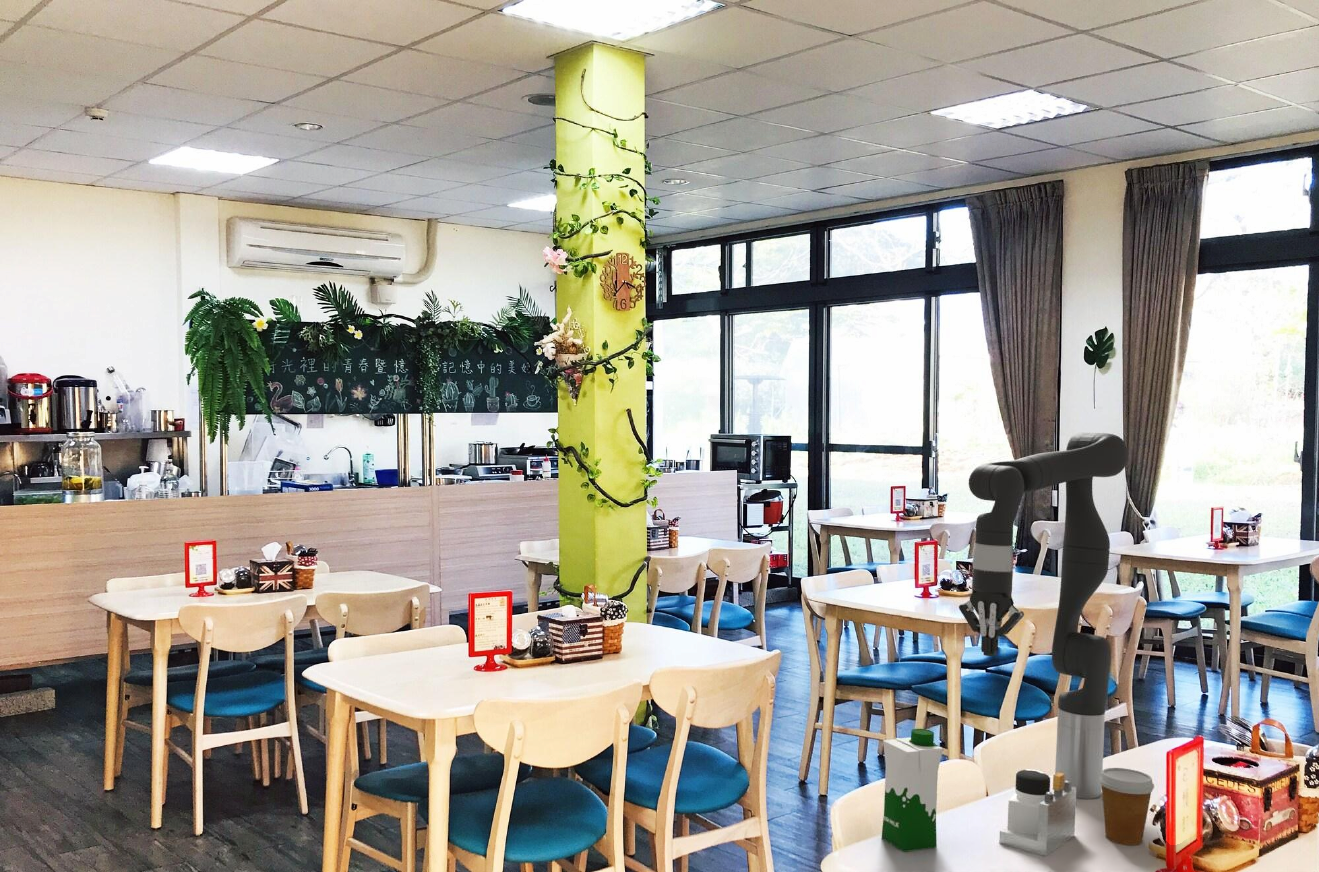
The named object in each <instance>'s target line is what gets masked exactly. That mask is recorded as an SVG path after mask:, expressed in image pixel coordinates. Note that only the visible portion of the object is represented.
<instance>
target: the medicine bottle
mask: <svg viewBox="0 0 1319 872" xmlns="http://www.w3.org/2000/svg"><path fill="white" fill-rule="evenodd" d="M1014 790H1015V792H1014V793H1013V795H1012V796H1011V797H1010V798H1009V800H1008V807H1007V809H1008V810H1007V811H1008V812H1007V827H1006V830H1009V831H1013V832H1017V833H1020V834H1024V835H1028V836H1031V837H1035V838H1038V820H1039V803H1041V802H1042V801H1044V800H1045V794H1046V792H1051V777H1050V776H1049V775H1048V774H1047V773H1045V772H1044V771H1043V772H1042V771H1041V770H1037V769H1022V770H1019V771H1017V772H1016V774H1015V789H1014Z"/></svg>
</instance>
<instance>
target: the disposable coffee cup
mask: <svg viewBox="0 0 1319 872" xmlns="http://www.w3.org/2000/svg"><path fill="white" fill-rule="evenodd" d="M1099 780H1100V783H1101V785H1102V792H1101V797H1102V805H1103V806H1102V808H1103V818H1104V819H1103V821H1104V831H1105V837H1106V839H1107V840H1109V841H1111V842H1113V843H1116V844H1120V845H1125V846H1139V845H1141V844H1142V843H1143V837H1144V834H1145V828H1146V823H1147V818H1148V812H1149V806H1150V802H1151V801H1150V800H1151V794H1152V792H1153V790H1154V788H1155V784H1154V783H1153V778H1152V777H1151V776H1150V775H1149V774H1148V773H1145V772H1143V771H1139V770H1134V769H1130V768H1123V767H1108V768H1107V767H1106V768H1105V769H1103V770H1102V773H1101V776H1100V777H1099Z"/></svg>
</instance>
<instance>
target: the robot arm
mask: <svg viewBox="0 0 1319 872" xmlns="http://www.w3.org/2000/svg"><path fill="white" fill-rule="evenodd" d="M1128 453H1129V451H1128V447H1127V444H1126V442H1125V440H1123V438H1121V437H1120V436H1118V435H1116V434H1114V433H1107V432H1106V433H1105V432H1101V433H1100V432H1078V433H1075V434H1073V435H1072V436H1071V437H1070V438H1069V440H1068V443H1067V446H1066V450H1057V451H1048V452H1040V453H1034V454H1031V455H1028V456H1025V457H1024V456H1023V457H1021V458H1016V459H1013V460H1005V461H997V462H989V463H983V464H980V465H979V466H977V467H976V468H974V470H973V471H972V472H971V473H970V476H969V477H968V487H969V491H970V492H971V494H972V495H973V496H974V497H976V498H977V499H980V500H982V501H990V502H994V503H993V506H992V509H991V511H990V512H984V513H981V514H979V515H978V516H977V518H976V522H975V538H974V539H975V541H974V542H975V543H974V550H973V555H972V556H973V558H972V581H971V582H972V583H971V589H972V591H971V594H970V596H969V600H967V601H966V602H964V603H962V604H959V606H958V609H959V611H960V613H961V614H962V616H963V617H964V619H965V621H966V622H967V624H968V626H969V627H970V629H971V630H972V631H973V632H976V633H978V634H980V637H981V643H980V644H981V645H980V650H981V652H982V653H983V656H986V657H995V655H996V654H997V653H998V652H999V638H1000V637H1002V636H1005V635H1007V634H1009V633H1010V632H1011V630H1012V629H1014V627H1016V625H1017V624H1018V623H1019V622H1020V620H1022V619H1023V617H1024V616H1025V613H1024V611H1022V610H1019V609H1017V607H1016V606H1014V603H1015V602H1014V599H1013V597H1012V593H1013V574H1014V551H1013V550H1014V549H1013V543H1014V542H1013V541H1014V524H1015V521H1016V517H1017V515H1018V511H1019V508H1020V505H1021V502H1022V500H1023V496H1024V494H1025V493H1026V494H1028V493H1033V492H1036V491H1039V490H1042V489H1043V490H1044V489H1046V488H1049V487H1051V486H1052V487H1053V486H1057V485H1060V484H1063V483H1065V517H1064V518H1065V519H1064V521H1065V522H1064V534H1063V542H1062V554H1061V575H1060V586H1059V587H1060V588H1059V600H1058V606H1057V607H1058V609H1057V614H1056V619H1055V624H1054V625H1055V626H1054V631H1053V636H1052V637H1053V639H1052V645H1051V661H1052V666H1053V669H1054V670H1055V671H1056V672H1057V673H1058V674H1062V675H1066V676H1071V677H1076V678H1079V679H1083V684H1082V685H1083V686H1082V687H1081V688H1080V689H1076V690H1068V691H1064V692H1062V693H1060V694H1059V695H1058V700H1057V724H1056V743H1055V744H1056V746H1055V747H1056V748H1055V749H1056V750H1055V752H1056V754H1055V769H1054V770H1055V771H1054V775H1055V774H1056V773H1058V772H1059V773H1063V774H1065V781H1070V783H1072V787H1076V799H1089V800H1090V799H1091V800H1092V799H1098V798H1100V797H1102V785H1101V783H1100V780H1099V777H1100V776H1101V773H1102V770H1104V769H1103V768H1104V767H1103V766H1104V765H1103V763H1104V745H1105V743H1104V742H1105V741H1104V740H1105V739H1104V738H1105V716H1106V715H1105V714H1106V704H1107V700H1108V696H1109V695H1108V694H1109V682H1110V670H1111V662H1112V651H1111V650H1112V649H1111V646H1110V642H1109V640H1108V639H1107V638H1105V637H1104V636H1100V635H1096V634H1091V633H1083V632H1079V622H1080V619H1081V614H1082V612H1083V609H1084V608H1085V606H1086V604H1087V602H1088V601H1089V600H1090V598H1091V597H1092V596H1093V594H1094V593H1095V592H1096V591H1097V590H1098V589H1099V587H1100V586H1101V584H1102V583H1103V582H1104V580H1105V578H1106V577H1107V575H1108V572H1109V562H1110V550H1111V549H1110V548H1111V540H1110V537H1109V534H1108V530H1107V529H1106V526H1105V524H1104V523H1103V520H1102V517H1100V514H1099V512H1098V510H1097V508H1096V505H1095V501H1094V496H1093V495H1094V493H1093V480H1094V479H1093V478H1094V477H1095V478H1110V477H1115V476H1117V475H1118V474H1120V473H1121V472H1123V470H1124V469H1125V467H1126V465H1127V463H1128V459H1129V458H1128V457H1129V454H1128ZM975 612H976V614H975ZM1007 614H1008V615H1007ZM977 615H978V617H977ZM1006 616H1008V619H1007V620H1006V621H1005V622H1004V624H1003V619H1004V618H1005V617H1006ZM1065 781H1064V783H1065Z"/></svg>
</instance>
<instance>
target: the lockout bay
mask: <svg viewBox="0 0 1319 872" xmlns="http://www.w3.org/2000/svg"><path fill="white" fill-rule="evenodd" d="M1052 776H1053V777H1052V790H1053V792H1052V791H1050V792H1046V794H1045V800H1044V801H1042V802H1041V803H1039V820H1038V838H1035V837H1031V836H1028V835H1024V834H1020V833H1017V832H1013V831H1009V830H1007V828H1006V829H1005V828H1002V829H1001V830H999V844H1001V843H1002V845H1006V846H1009V847H1012V848H1016V849H1020V850H1024V851H1026V852H1030V853H1033V854H1036V855H1042V856H1044V857H1046V856H1049V854H1051V853H1053V851H1055V850H1057V849H1058V848H1059V847H1061V845H1062V846H1063V844H1065V843H1066V842H1067V841H1068V840H1070V839H1072V838H1073V837H1074V836H1075V829H1076V828H1075V827H1076V826H1075V825H1076V806H1077V805H1076V804H1077V798H1076V787H1072V783H1070V781H1065V774H1063V773H1059V772H1058V773H1056V774H1055V773H1054V774H1053V775H1052ZM1064 781H1065V783H1064Z"/></svg>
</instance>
